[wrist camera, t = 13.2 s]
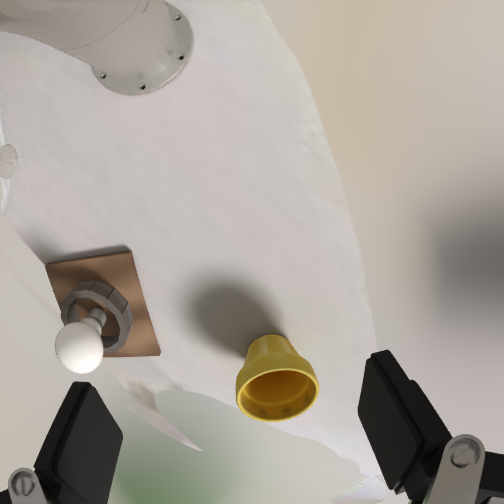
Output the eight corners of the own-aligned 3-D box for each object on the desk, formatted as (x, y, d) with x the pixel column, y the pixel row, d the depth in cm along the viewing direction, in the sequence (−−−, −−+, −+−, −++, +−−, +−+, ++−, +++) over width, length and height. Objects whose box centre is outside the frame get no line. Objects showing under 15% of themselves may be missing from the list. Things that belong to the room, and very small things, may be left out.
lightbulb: (79, 322, 38) (48, 372, 28) (81, 287, 36) (44, 335, 26) (117, 337, 39) (93, 391, 29) (122, 302, 37) (94, 356, 27)
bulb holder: (48, 263, 36) (34, 274, 32) (131, 250, 36) (121, 262, 32) (83, 353, 41) (74, 368, 38) (160, 351, 42) (156, 368, 38)
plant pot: (248, 314, 40) (253, 360, 31) (315, 331, 42) (334, 375, 33) (225, 367, 44) (225, 416, 34) (287, 380, 45) (297, 426, 36)
